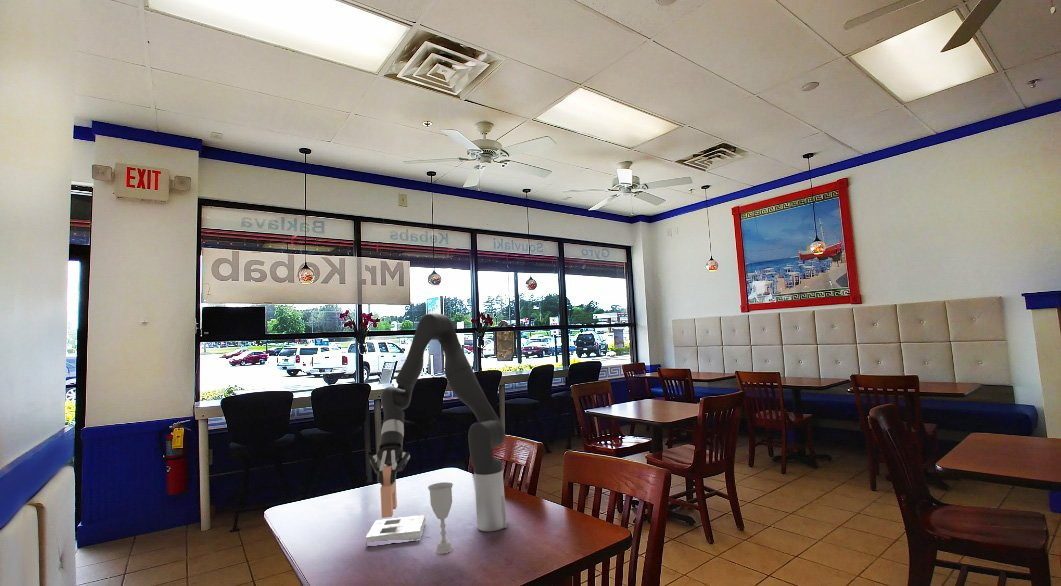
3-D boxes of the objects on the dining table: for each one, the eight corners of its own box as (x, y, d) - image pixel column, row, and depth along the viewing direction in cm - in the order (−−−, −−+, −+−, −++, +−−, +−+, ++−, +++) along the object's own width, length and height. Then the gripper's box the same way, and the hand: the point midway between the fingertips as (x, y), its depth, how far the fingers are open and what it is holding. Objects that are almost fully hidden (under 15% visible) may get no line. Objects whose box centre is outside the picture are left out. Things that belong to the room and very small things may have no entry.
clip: (397, 506, 162) (394, 462, 163) (391, 516, 152) (389, 470, 153) (387, 507, 161) (385, 463, 162) (381, 518, 152) (379, 471, 153)
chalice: (459, 544, 145) (455, 481, 146) (453, 554, 138) (449, 488, 140) (435, 545, 145) (431, 483, 147) (428, 555, 139) (424, 490, 140)
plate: (425, 524, 164) (425, 514, 164) (420, 540, 150) (419, 530, 150) (376, 529, 162) (375, 520, 162) (366, 547, 148) (365, 537, 148)
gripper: (369, 431, 165) (361, 479, 152) (411, 428, 167) (407, 474, 154) (373, 444, 170) (366, 491, 157) (414, 440, 172) (410, 487, 158)
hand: (386, 483), depth 155 cm, fingers closed on clip, 2 cm apart
